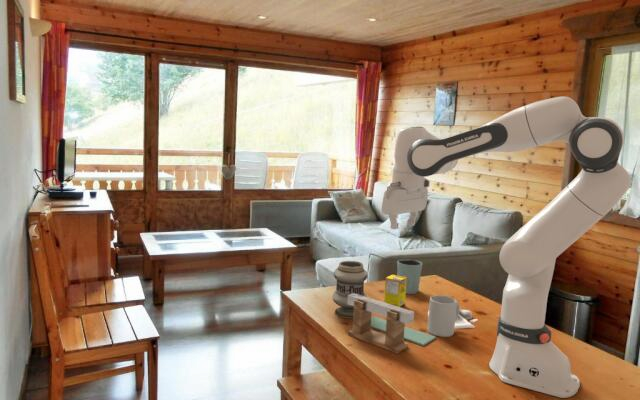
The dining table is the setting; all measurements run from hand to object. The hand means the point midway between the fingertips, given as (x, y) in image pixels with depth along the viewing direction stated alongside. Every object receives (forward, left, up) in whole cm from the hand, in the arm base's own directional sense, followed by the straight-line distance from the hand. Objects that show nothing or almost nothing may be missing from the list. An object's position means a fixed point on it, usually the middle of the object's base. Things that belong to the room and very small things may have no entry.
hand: (402, 227), depth 147 cm
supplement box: (+16, -26, -36) cm, 47 cm away
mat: (+3, -6, -35) cm, 36 cm away
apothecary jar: (+23, -7, -36) cm, 43 cm away
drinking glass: (+22, -46, -36) cm, 62 cm away
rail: (+3, +5, -26) cm, 27 cm away
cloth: (-5, -33, -36) cm, 49 cm away
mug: (-8, -18, -36) cm, 41 cm away
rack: (+3, +5, -35) cm, 36 cm away
